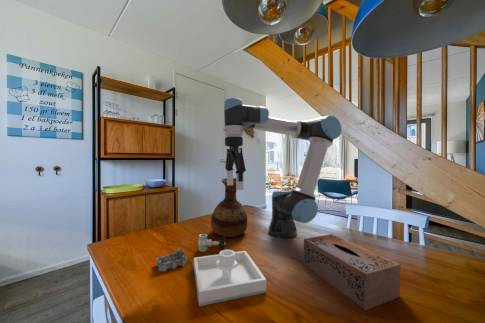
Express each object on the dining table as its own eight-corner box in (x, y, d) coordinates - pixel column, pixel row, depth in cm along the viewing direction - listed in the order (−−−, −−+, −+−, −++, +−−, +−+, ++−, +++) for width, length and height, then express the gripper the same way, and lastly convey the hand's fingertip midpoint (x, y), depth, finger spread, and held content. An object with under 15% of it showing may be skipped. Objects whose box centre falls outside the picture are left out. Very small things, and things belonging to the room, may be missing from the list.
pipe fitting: (235, 283, 65) (236, 258, 65) (214, 281, 66) (214, 256, 66) (238, 272, 72) (238, 249, 71) (218, 270, 72) (218, 248, 72)
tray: (245, 260, 81) (245, 250, 81) (266, 292, 62) (266, 279, 62) (193, 268, 75) (193, 257, 75) (199, 306, 56) (199, 292, 56)
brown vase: (212, 241, 99) (213, 180, 98) (209, 227, 118) (209, 176, 118) (251, 238, 103) (252, 179, 103) (242, 225, 123) (242, 175, 122)
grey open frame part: (183, 257, 84) (183, 247, 84) (188, 266, 77) (188, 255, 77) (155, 264, 78) (155, 253, 78) (158, 273, 72) (158, 262, 72)
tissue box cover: (303, 264, 79) (303, 238, 79) (331, 257, 84) (332, 233, 84) (365, 311, 55) (366, 274, 55) (399, 297, 61) (400, 264, 60)
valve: (196, 253, 87) (223, 254, 86) (196, 237, 87) (223, 239, 86) (200, 246, 94) (226, 247, 93) (200, 232, 94) (226, 233, 93)
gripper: (218, 139, 96) (219, 184, 96) (234, 133, 72) (235, 192, 73) (233, 139, 98) (234, 183, 99) (253, 133, 75) (254, 191, 76)
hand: (234, 187), depth 86 cm, fingers open, 13 cm apart
